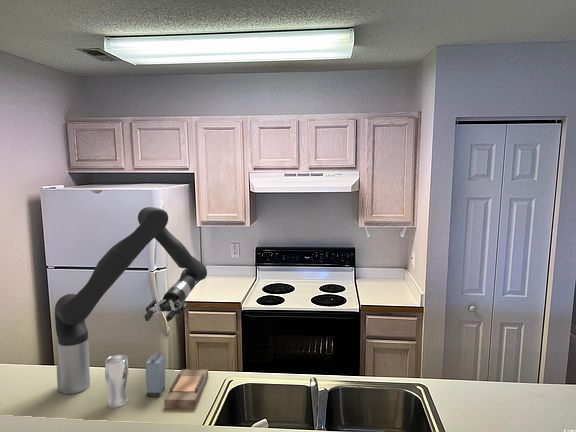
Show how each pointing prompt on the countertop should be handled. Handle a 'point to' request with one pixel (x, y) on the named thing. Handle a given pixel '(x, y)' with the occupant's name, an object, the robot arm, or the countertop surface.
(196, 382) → the dock
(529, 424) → the countertop surface
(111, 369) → the beer glass
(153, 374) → the blue rectangular block
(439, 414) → the countertop surface
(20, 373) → the countertop surface
